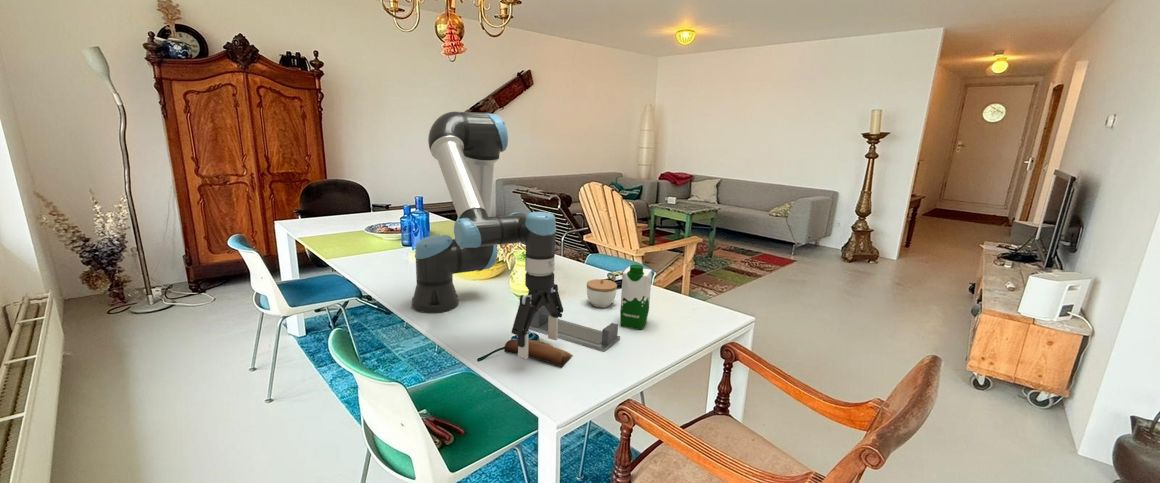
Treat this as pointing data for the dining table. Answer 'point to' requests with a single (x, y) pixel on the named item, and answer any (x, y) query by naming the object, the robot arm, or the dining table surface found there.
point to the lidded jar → (601, 292)
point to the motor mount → (577, 331)
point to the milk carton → (635, 297)
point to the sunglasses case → (541, 351)
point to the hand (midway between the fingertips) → (538, 347)
